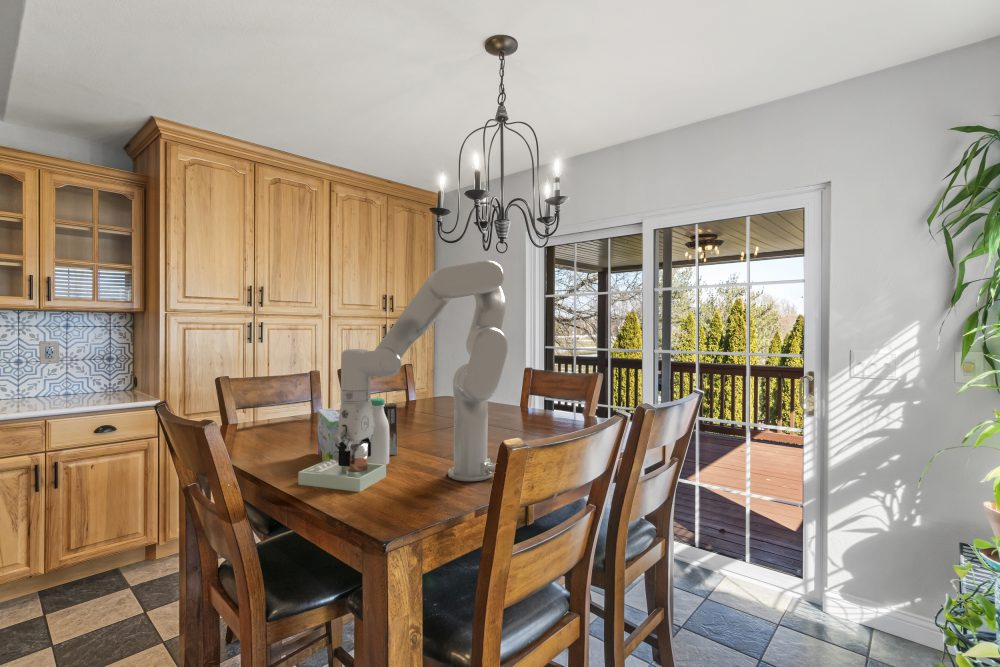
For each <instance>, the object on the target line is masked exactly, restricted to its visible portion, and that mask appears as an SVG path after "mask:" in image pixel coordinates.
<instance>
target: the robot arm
mask: <svg viewBox="0 0 1000 667" xmlns="http://www.w3.org/2000/svg"><path fill="white" fill-rule="evenodd" d="M504 277H505V273H504V271H503V268H502V266H501V265H500V264H499V263H498V262H496V261H494V260H490V259H485V260H479V261H473V262H468V263H463V264H458V265H457V264H456V265H452V266H451V265H449V266H444V267H443V266H442V267H441V268H438V269H436V270H434V271H433V272H432V273H430V275H429V276H428V277H427V279H425V281H424V282H423V284H422V285H421V286H420V288H419V290H418V291H417V292H416V294H414V296H413V297H412V298H411V301H410V302H409V303H408V304H407V306H406V307H405V308H404V309H403V311H402V312H401V314H400V315H399V317H397V319H396V321H395V322H394V324H393V325H392V326H391V328H390V329H389V330H388V331H387V332H386V334H385V336H384V337H383V338H382V339H381V341H380V342H379V343H378V345H377V346H376V347H375V350H368V349H364V348H362V349H361V348H360V349H359V348H358V349H357V348H353V349H352V348H350V349H345V350H343V351H342V352H341V357H340V361H341V362H340V368H341V370H340V408H339V430H338V432H337V433H336V434H335V436H334V440H335V445H336V447H337V450H338V451H339V454H338V465H339V466H346V467H349V466H350V465H351V451H350V450H349V448H350V446H351V444H352V442H358V441H364V442H367V443H368V457H370V456H371V441H372V435H373V431H374V426H375V424H374V423H373V409H372V403H371V399H372V398H371V394H372V393H371V390H372V388H371V383H372V381H371V380H372V379H371V378H372V377H375V378H376V377H377V378H383V379H384V378H385V379H386V378H387V379H388V378H391V377H394V376H396V375H397V374H398V373H399V372H400V370H401V367H402V358H403V357H404V356H405V354H406V353H407V351H408V350H409V349H410V348H411V346H412V345H413V344H414V343H415V342H416V341H417V340H418V339H419V338H420V337H422V336H423V335H425V334H426V333H427V332H428V331H429V330H430V329H431V327H432V326H433V325H434V323H435V322H436V320H437V319H438V317H439V316H440V314H442V312H443V311H444V309H445V308H446V306H447V305H448V304H449V302H450V301H451V300H452V299H458V298H465V297H470V296H474V299H475V309H474V313H473V318H472V321H471V324H470V328H469V331H468V335H467V338H466V341H465V348H466V351H467V353H468V354H469V356H470V357H469V361H468V363H464V364H463V365H460V366H459V367H458V368H457V370H456V371H455V372H454V374H453V379H452V392H453V393H452V394H453V403H454V404H453V408H454V409H453V410H454V411H453V413H454V414H453V417H454V418H453V467H451V468H449V469H448V471H447V476H448V478H450V479H453V480H455V481H458V482H459V481H460V482H479V481H480V482H481V481H486V480H488V479H490V478H491V477H493V473H495V472H494V470H495V465H496V464H497V463H492V462H491V458H490V457H488V429H489V428H488V427H489V425H488V420H489V404H488V401H489V400H490V399H491V398H492V397H493V396H494V395H495V393H496V392H497V389H498V388H499V384H500V381H501V378H502V375H503V374H502V373H503V370H504V367H505V362H506V359H507V354H508V351H509V350H508V346H509V344H508V340H507V337H506V335H505V333H504V332H503V331H502V328H503V324H504V320H505V319H504V318H505V314H506V298H505V295H504V292H503V289H502V287H501V286H502V285H503V282H504V279H505V278H504ZM344 442H347V444H346V445H345V444H344Z"/></svg>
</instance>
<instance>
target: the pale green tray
mask: <svg viewBox="0 0 1000 667" xmlns="http://www.w3.org/2000/svg"><path fill="white" fill-rule="evenodd" d="M330 460H334V459H328V460H326V461H323V460H322V461H321V462H319V463H316V464H314V465H312V466H309V467H307V468H305V469H302V470H300V471H298V475H297V476H298V479H297V480H298V482H297V483H298V485H301V486H309V487H315V488H324V489H333V490H341V491H350V492H356V493H357V492H358V493H360V492H362V491H364V490H366V489H367V488H369V487H371V486H373V485H374V484H376V483H378V482H380V481H381V480H383V479H385V478H386V477H387V465H382V464H373V463H368V469H367V474H366V475H364V476H362V477H360V478H355V477H346V466H342V474H341V475H339V476H337V475H328V474H320V473H311V472H308V470H310V469H312V468H315V467H316V466H318V465H321V464H323V463H325V462H329V461H330ZM335 461H336V462H338V460H335Z"/></svg>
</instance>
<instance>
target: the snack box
mask: <svg viewBox="0 0 1000 667" xmlns="http://www.w3.org/2000/svg"><path fill="white" fill-rule="evenodd" d="M316 413H317V417H316V418H317V455H318V456H319V458H320V459H321V460H322V462H323V461H326V460H328V459H334V460H338V454H339V451H338V450H337V447H336V445H335V440H334V436H335V434H336V433H337V432H338V430H339V414H340V412H339V411H337V410H335V409H334V408H330V407H329V408H322V409H321V408H320V409H319V408H318V409H317V411H316ZM344 444H345V445H346V444H347V442H344Z"/></svg>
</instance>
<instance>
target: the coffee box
mask: <svg viewBox="0 0 1000 667" xmlns="http://www.w3.org/2000/svg"><path fill="white" fill-rule="evenodd" d="M397 406H398V405H397V403H396V402H395V403H392V402H391V403H384V413H385V415H386V418H387V420H388V423H389V456H397V455H398V407H397Z"/></svg>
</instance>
